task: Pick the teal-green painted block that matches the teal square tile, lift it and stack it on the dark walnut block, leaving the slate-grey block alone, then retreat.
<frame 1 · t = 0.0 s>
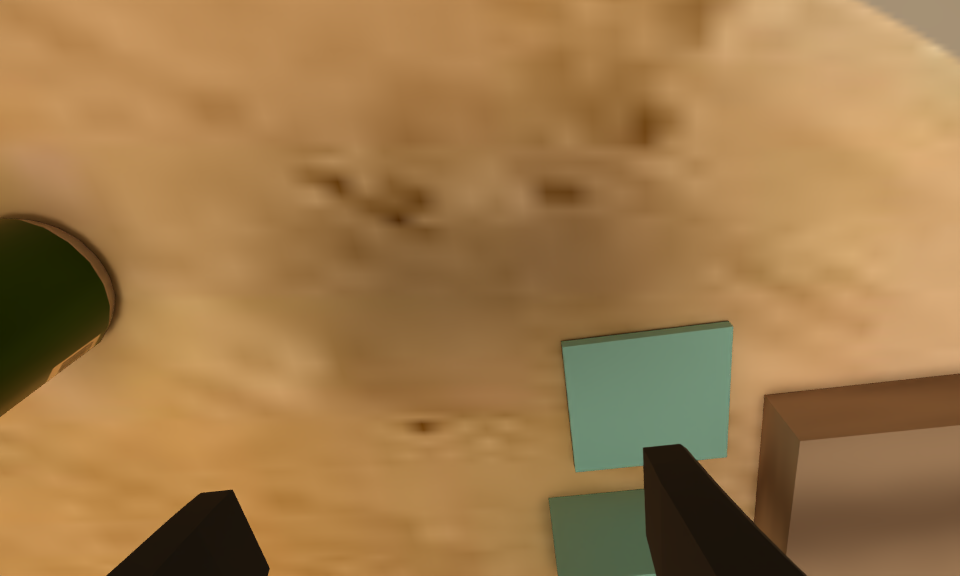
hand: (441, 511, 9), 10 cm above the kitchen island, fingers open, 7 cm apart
beer can: (51, 281, 19), on the kitchen island
walnut block: (863, 464, 22), on the kitchen island
teal square tile: (645, 398, 20), on the kitchen island
teal block: (603, 528, 23), on the kitchen island
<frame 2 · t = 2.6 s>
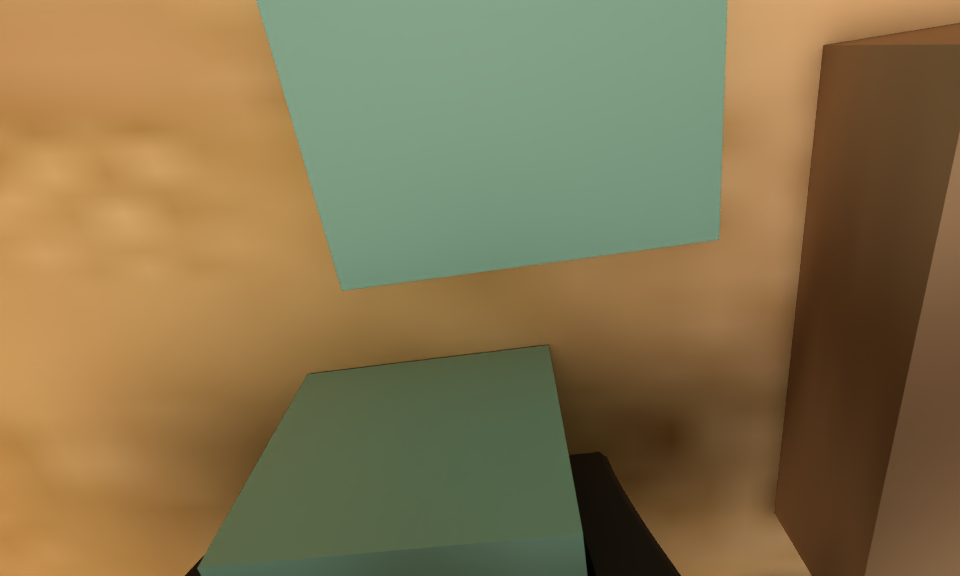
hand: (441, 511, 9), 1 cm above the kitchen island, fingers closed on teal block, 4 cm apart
teal square tile: (497, 61, 7), on the kitchen island
teal block: (447, 454, 10), on the kitchen island, touching gripper
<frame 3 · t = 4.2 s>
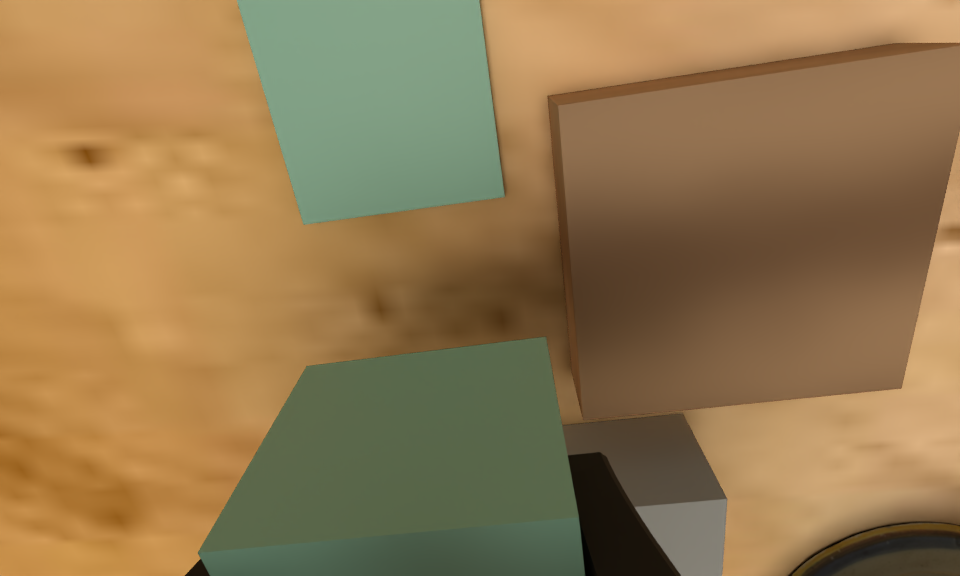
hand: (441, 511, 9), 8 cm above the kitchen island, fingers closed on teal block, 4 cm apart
walnut block: (705, 226, 16), on the kitchen island
teal square tile: (382, 102, 14), on the kitchen island
slate block: (619, 465, 20), on the kitchen island
teal block: (446, 446, 11), point 7 cm above the kitchen island, touching gripper
when the fingers open (6 cm above the kitchen island, at t = 6.2 s): teal block drops 2 cm, resting on walnut block.
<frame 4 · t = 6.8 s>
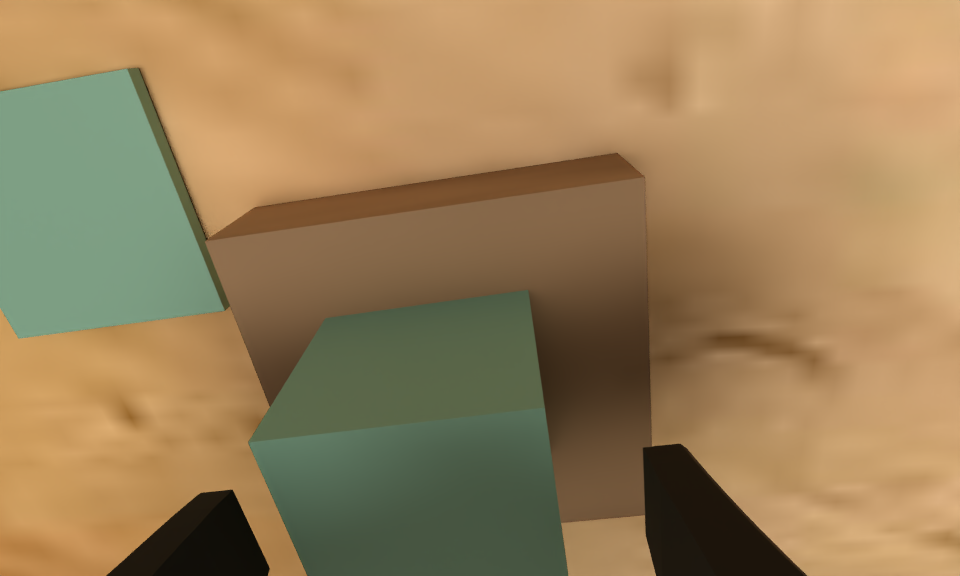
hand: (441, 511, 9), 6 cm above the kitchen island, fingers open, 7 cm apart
walnut block: (462, 331, 15), on the kitchen island, touching teal block
teal square tile: (78, 214, 13), on the kitchen island
teal block: (444, 389, 12), point 2 cm above the kitchen island, touching walnut block
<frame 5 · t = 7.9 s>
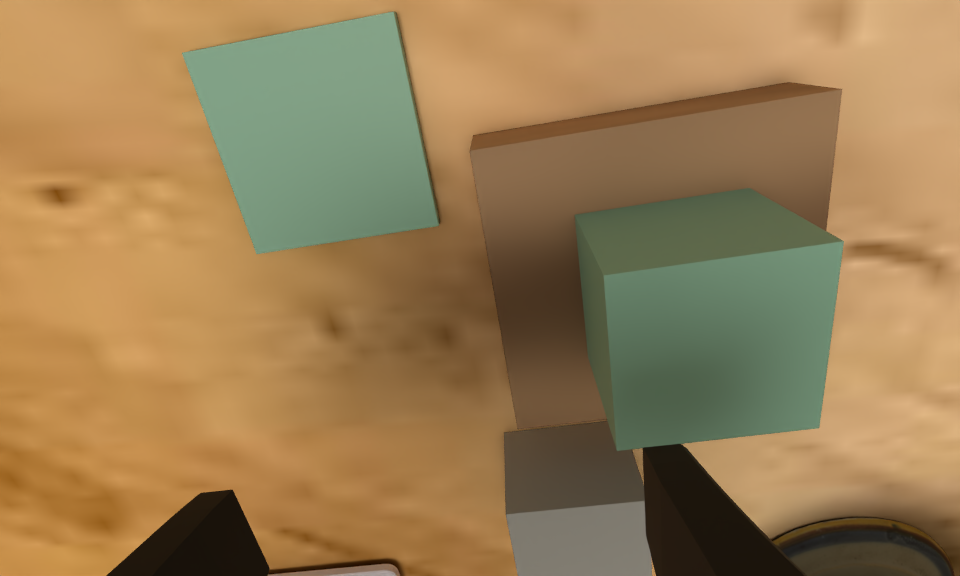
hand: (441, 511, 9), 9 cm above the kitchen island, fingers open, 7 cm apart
walnut block: (630, 247, 17), on the kitchen island, touching teal block
teal square tile: (322, 142, 16), on the kitchen island
slate block: (567, 468, 21), on the kitchen island
teal block: (662, 279, 15), point 2 cm above the kitchen island, touching walnut block
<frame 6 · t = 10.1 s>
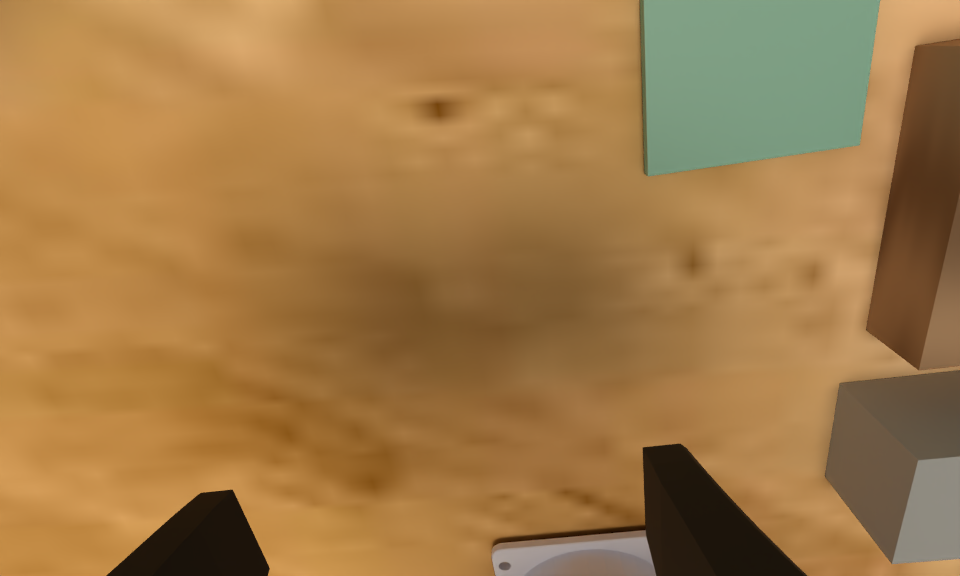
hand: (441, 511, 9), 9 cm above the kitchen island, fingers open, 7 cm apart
teal square tile: (751, 49, 14), on the kitchen island
slate block: (892, 423, 20), on the kitchen island
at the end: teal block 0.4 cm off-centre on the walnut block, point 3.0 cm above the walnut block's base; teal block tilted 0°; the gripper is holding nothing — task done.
